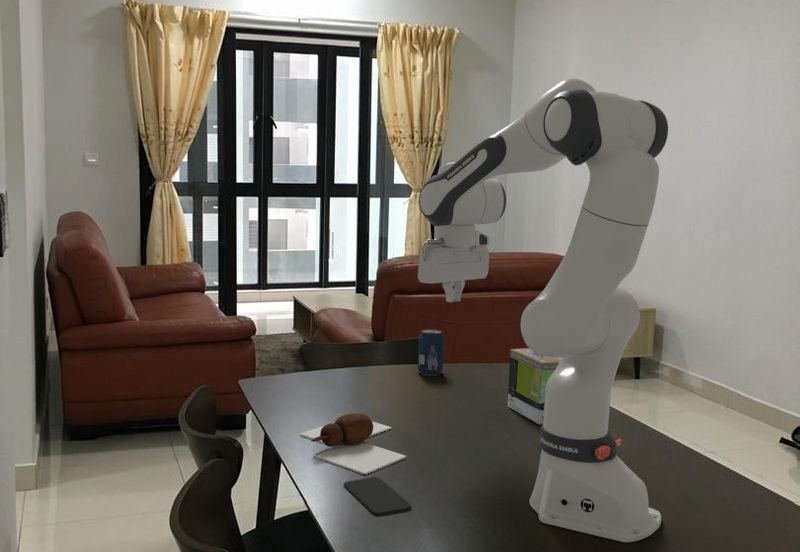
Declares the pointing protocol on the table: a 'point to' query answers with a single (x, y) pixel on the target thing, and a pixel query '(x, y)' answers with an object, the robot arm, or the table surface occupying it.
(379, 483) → the phone
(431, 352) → the soda can
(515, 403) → the tea box
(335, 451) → the mat side
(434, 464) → the table surface
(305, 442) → the table surface
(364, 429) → the wooden figurine
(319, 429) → the mat front
